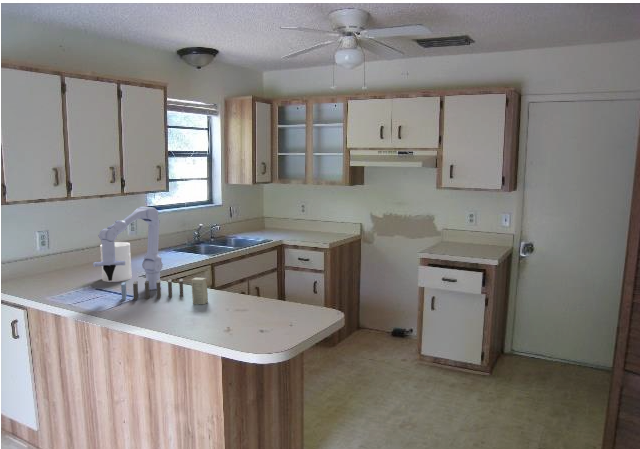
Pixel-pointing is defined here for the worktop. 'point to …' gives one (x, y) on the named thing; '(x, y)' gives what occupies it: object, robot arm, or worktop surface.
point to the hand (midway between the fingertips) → (110, 280)
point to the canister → (120, 270)
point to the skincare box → (199, 290)
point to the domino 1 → (123, 290)
